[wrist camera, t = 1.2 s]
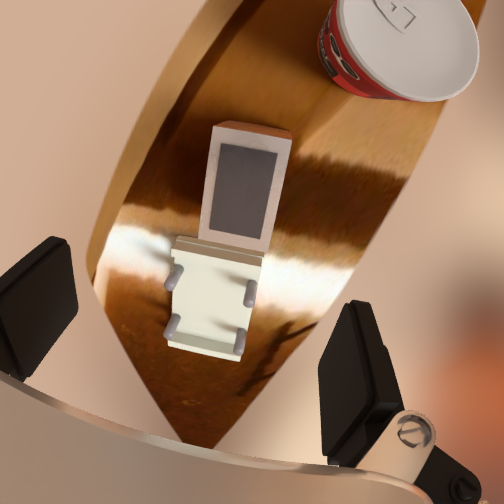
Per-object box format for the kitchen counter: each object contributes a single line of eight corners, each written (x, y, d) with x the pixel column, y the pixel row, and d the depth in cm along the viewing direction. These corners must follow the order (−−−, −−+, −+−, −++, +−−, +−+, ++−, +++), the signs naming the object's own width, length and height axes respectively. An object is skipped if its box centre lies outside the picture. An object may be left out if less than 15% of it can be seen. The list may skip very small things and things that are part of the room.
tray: (179, 234, 29) (165, 254, 26) (264, 252, 29) (261, 274, 26) (173, 330, 35) (163, 354, 31) (243, 345, 35) (238, 372, 31)
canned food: (333, -5, 18) (362, -62, 9) (421, 39, 19) (494, 17, 9) (301, 73, 22) (314, 54, 12) (391, 114, 23) (456, 130, 13)
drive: (228, 119, 24) (212, 126, 19) (290, 131, 24) (292, 140, 19) (214, 210, 28) (197, 240, 23) (271, 221, 28) (267, 254, 22)
